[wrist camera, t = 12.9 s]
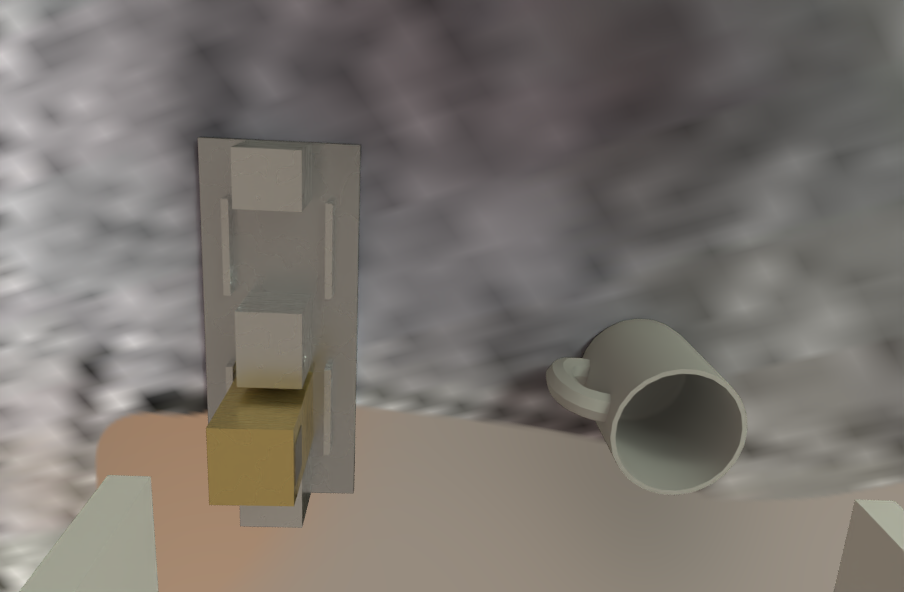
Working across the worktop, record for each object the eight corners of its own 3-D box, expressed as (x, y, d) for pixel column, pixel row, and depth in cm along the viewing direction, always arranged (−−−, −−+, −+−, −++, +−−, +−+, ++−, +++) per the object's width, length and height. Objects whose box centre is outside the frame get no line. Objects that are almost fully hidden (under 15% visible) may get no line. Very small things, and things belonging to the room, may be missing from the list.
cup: (672, 431, 51) (723, 504, 42) (522, 405, 50) (544, 474, 41) (704, 327, 49) (765, 382, 40) (549, 297, 48) (577, 347, 39)
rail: (200, 136, 44) (176, 144, 40) (360, 144, 45) (354, 152, 40) (213, 485, 50) (193, 525, 46) (354, 488, 51) (348, 528, 46)
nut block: (239, 370, 48) (204, 428, 40) (313, 372, 48) (294, 430, 40) (241, 436, 49) (208, 504, 41) (313, 438, 49) (295, 506, 41)
